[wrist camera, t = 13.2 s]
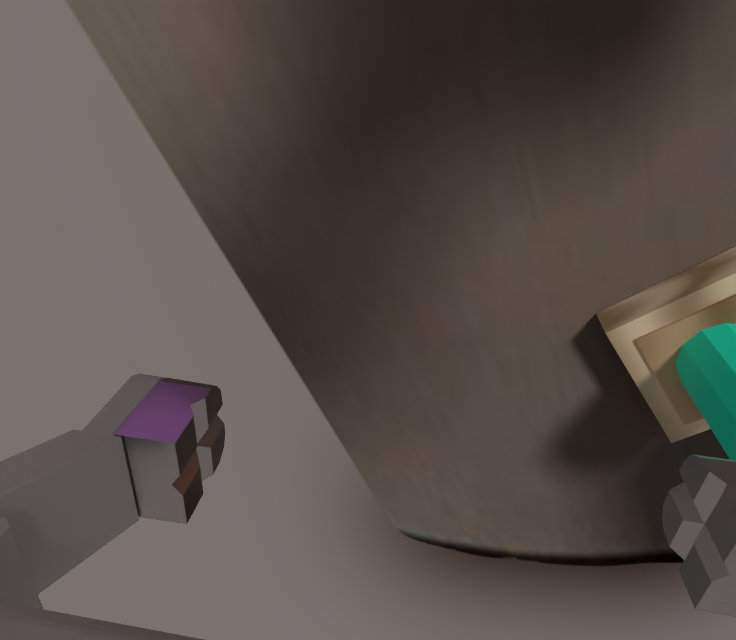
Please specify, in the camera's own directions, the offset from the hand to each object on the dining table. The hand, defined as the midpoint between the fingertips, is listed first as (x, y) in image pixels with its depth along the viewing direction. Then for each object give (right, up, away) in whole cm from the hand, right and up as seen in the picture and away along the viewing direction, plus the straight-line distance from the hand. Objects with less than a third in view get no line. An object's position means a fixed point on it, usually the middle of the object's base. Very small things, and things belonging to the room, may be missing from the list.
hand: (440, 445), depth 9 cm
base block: (+25, +1, +32) cm, 40 cm away
